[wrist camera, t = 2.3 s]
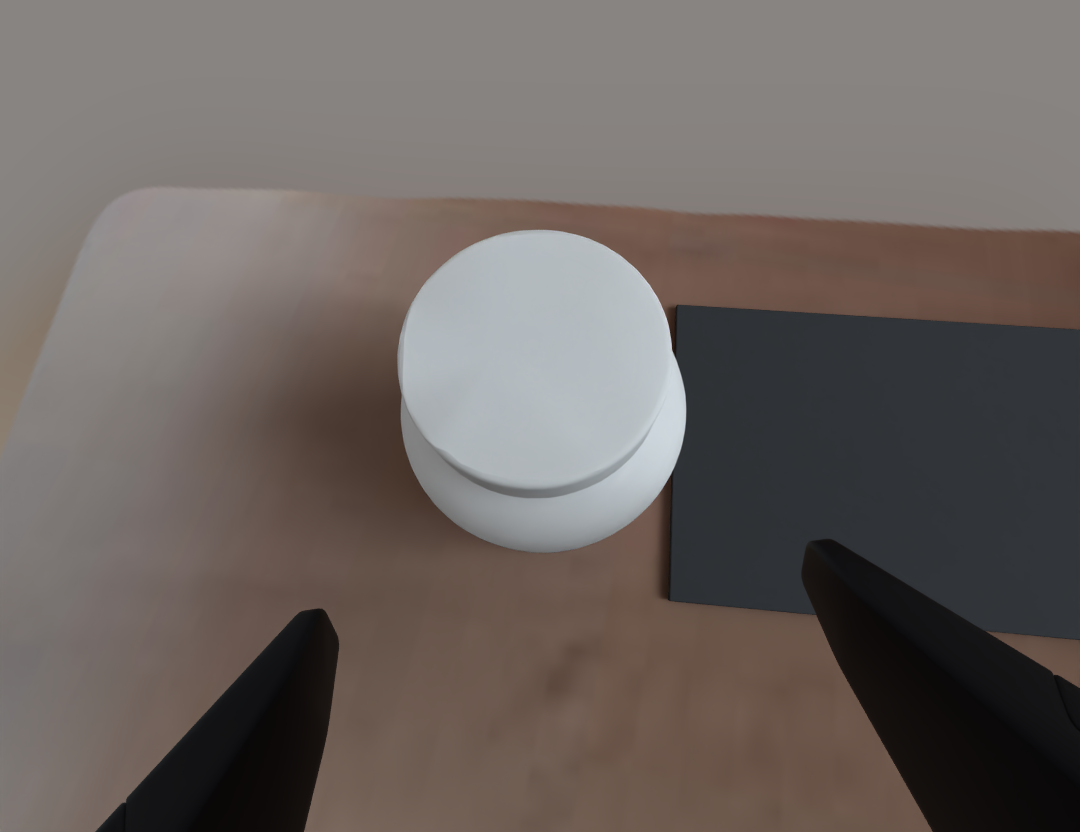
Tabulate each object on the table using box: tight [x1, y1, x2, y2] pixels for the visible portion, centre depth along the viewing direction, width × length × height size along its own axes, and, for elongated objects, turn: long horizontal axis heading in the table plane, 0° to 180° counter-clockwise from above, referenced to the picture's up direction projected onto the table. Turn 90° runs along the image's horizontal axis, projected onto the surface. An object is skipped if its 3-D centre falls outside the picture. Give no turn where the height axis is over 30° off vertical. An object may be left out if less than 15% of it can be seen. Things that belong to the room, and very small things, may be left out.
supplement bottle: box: [397, 230, 686, 553], centre depth 15 cm, size 7×7×13 cm
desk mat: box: [668, 305, 1080, 640], centre depth 21 cm, size 20×12×1 cm, turn 85°
